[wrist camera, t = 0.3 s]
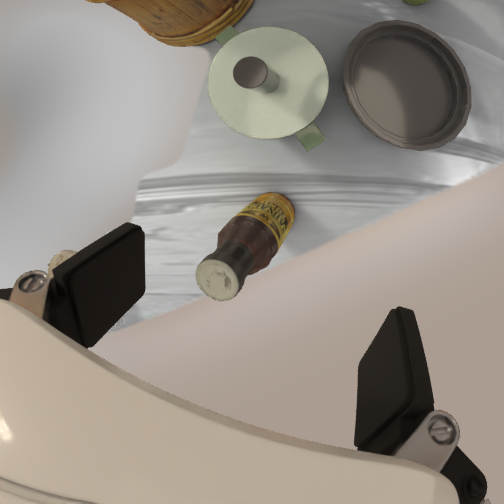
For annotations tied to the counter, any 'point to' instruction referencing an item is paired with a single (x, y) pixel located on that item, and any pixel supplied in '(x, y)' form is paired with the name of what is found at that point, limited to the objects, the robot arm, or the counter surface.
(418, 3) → the beverage can
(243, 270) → the sauce bottle
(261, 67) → the lid
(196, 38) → the tankard
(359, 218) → the counter surface
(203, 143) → the counter surface
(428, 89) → the pan
